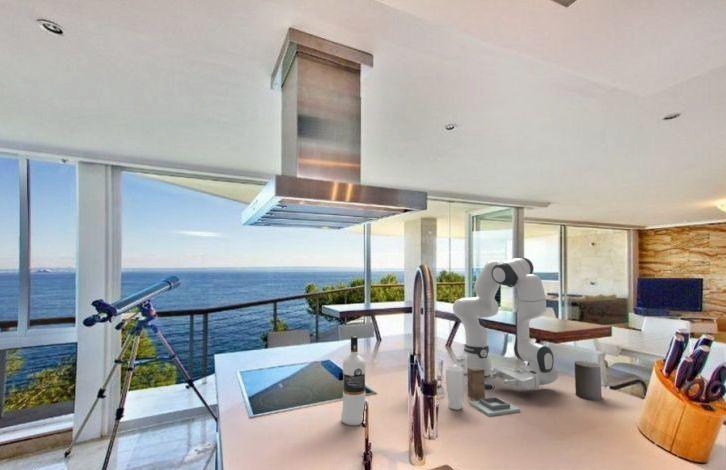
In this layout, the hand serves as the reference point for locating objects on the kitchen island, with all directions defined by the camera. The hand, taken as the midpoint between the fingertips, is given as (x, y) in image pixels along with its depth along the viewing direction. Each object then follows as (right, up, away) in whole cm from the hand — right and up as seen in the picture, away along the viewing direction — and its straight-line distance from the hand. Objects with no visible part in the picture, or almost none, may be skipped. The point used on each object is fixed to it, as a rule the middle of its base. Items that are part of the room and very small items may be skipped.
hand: (498, 379), depth 158 cm
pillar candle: (+38, -7, -2) cm, 39 cm away
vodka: (-62, -5, -27) cm, 68 cm away
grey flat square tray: (-7, -5, -15) cm, 18 cm away
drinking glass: (-23, -6, -15) cm, 28 cm away
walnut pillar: (-11, -6, -4) cm, 13 cm away
